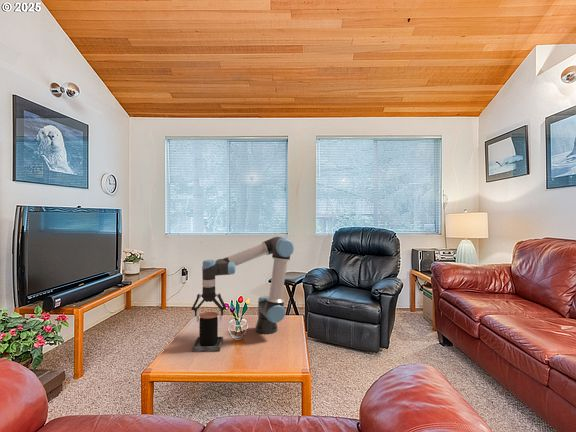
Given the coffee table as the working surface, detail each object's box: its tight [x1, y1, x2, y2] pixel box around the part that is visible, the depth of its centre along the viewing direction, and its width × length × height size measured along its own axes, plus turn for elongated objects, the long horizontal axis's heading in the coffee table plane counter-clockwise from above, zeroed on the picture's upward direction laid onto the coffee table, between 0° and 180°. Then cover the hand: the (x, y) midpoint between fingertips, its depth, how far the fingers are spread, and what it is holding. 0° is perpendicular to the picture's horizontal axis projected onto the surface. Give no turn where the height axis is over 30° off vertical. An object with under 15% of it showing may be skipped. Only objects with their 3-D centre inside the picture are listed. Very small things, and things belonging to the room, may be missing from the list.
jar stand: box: [191, 336, 224, 353], centre depth 202 cm, size 16×16×3 cm
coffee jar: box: [198, 311, 219, 346], centre depth 202 cm, size 11×11×18 cm
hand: (209, 321), depth 202 cm, fingers open, 13 cm apart
